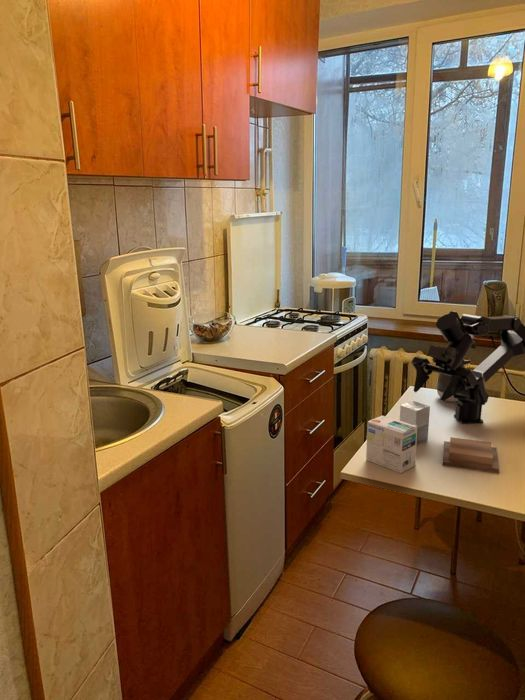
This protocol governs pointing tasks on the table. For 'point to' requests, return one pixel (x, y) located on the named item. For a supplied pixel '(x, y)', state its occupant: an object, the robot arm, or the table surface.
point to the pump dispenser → (447, 383)
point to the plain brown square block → (416, 418)
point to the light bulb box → (391, 443)
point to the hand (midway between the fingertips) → (427, 395)
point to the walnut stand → (470, 455)
